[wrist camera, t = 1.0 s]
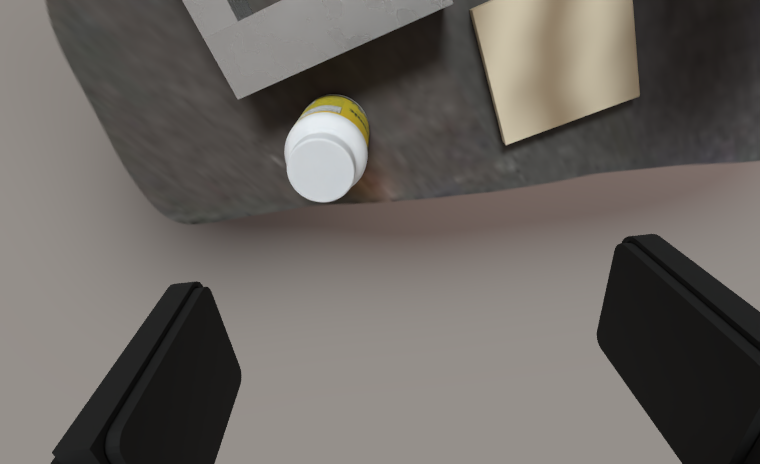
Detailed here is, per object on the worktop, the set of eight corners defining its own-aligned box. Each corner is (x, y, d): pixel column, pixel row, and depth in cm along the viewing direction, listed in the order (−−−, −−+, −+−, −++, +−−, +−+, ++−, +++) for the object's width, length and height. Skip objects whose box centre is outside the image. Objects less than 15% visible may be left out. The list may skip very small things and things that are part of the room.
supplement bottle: (374, 156, 33) (371, 209, 24) (309, 163, 33) (284, 218, 25) (365, 88, 30) (359, 121, 22) (295, 96, 31) (262, 132, 22)
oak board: (619, -57, 26) (628, -59, 25) (632, 93, 30) (639, 96, 29) (469, 9, 28) (471, 10, 27) (502, 141, 32) (506, 145, 31)
